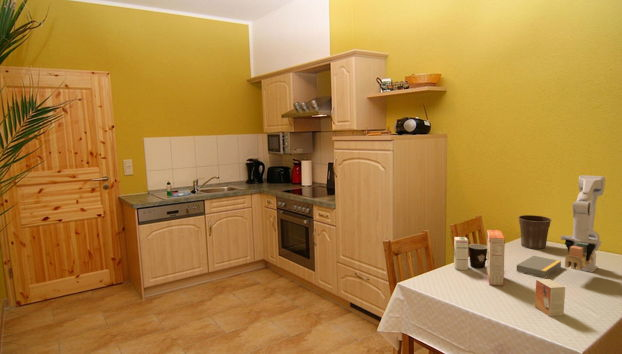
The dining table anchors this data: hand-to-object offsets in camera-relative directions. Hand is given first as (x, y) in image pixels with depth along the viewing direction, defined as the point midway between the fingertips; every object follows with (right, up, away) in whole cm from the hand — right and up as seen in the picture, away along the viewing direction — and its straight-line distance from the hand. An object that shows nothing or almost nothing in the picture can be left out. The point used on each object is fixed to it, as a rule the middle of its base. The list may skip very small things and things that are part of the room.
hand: (579, 259), depth 173 cm
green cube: (+3, +3, +3) cm, 5 cm away
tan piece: (0, -2, 0) cm, 2 cm away
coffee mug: (-35, -8, +18) cm, 40 cm away
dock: (-10, -8, +13) cm, 18 cm away
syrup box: (-45, -8, +17) cm, 49 cm away
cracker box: (-37, -10, +1) cm, 38 cm away
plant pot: (+8, -3, +50) cm, 50 cm away
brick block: (-4, +2, -3) cm, 6 cm away
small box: (-31, -13, -30) cm, 45 cm away
